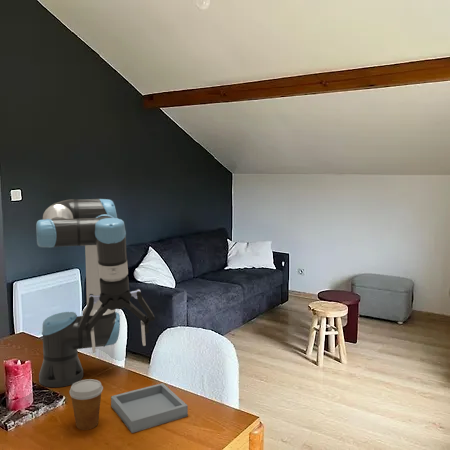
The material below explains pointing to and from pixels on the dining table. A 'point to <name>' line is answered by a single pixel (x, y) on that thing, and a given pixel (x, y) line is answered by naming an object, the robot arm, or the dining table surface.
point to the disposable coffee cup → (86, 403)
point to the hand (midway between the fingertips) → (119, 346)
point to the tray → (148, 407)
